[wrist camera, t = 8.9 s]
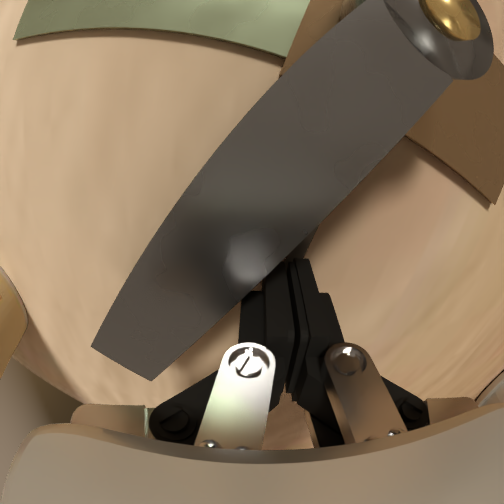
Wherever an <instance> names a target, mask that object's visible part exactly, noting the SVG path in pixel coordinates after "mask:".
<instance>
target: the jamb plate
mask: <svg viewBox="0 0 504 504" xmlns="http://www.w3.org/2000/svg"><path fill="white" fill-rule="evenodd" d="M343 2H344V0H310V2H309V4H308V6H307V9H306V11H305V13H304V16H303V18H302V20H301V23H300V25H299V28H298V30H297V32H296V35H295V37H294V40H293V42H292V45H291V47H290V50H289V52H288V55H287V57H286V59H285V61H284V64H283V66H282V69H281V72H280V74H279V76H282V75H283V74H284V73H285V72H286V71H287V70H288V69H289V68H290V67H291V66H292V65H293V64H294V63H295V62H296V61H297V60H298V59H299V58H300V57H301V56H302V55H303V54H304V53H305V52H306V51H307V50H309V49H310V48H311V47H312V46H313V45H314V44H315V43H316V42H317V41H318V40H319V39H320V38H322V37H323V36H324V35H325V34H326V33H327V32H328V31H329V30H331V29H332V28H333V27H334V26H335V25H336V24H337V23H339V22H340V21H341V20H340V11H341V7H342V4H343ZM404 136H406V137H407V138H409V139H410V140H412V141H414V142H415V143H417V144H418V145H420V146H421V147H423V148H424V149H425V150H427V151H428V152H430V153H431V154H433V155H434V156H435V157H437V158H438V159H439V160H441V161H442V162H443V163H445V164H446V165H447V166H449V167H450V168H451V169H453V170H454V171H455V172H456V173H458V174H459V175H460V176H461V177H463V178H464V179H465V180H466V181H467V182H468V183H470V184H471V185H472V186H473V187H474V188H475V189H477V190H478V191H479V192H480V193H481V194H482V195H483V196H484V197H485V198H486V199H488V200H489V201H490V202H491V203H493V204H494V205H495V204H496V202H497V199H498V197H499V195H500V192H501V190H502V187H503V185H504V65H503V64H502V63H501V62H500V60H499V59H498V58H497V57H496V56H495V55H494V54H493V60H492V63H491V66H490V68H489V70H488V71H487V72H486V73H485V74H484V75H483V76H482V77H480V78H477V79H474V80H453V82H452V83H451V84H450V85H449V86H448V88H447V89H446V90H445V91H444V92H443V93H442V94H441V95H440V97H439V98H438V99H437V100H436V101H435V102H434V103H433V104H432V106H431V107H430V108H429V109H428V110H427V111H426V112H425V113H424V115H423V116H422V117H421V118H420V119H419V120H418V121H417V122H416V123H415V124H414V126H413V127H412V128H411V129H410V130H409V131H408V132H407V133H406V134H405V135H404ZM318 226H319V225H318ZM318 226H317V227H316V228H315V229H314V230H313V231H312V232H311V233H310V234H309V235H308V236H307V237H306V238H305V239H304V240H303V241H301V242H300V243H299V244H298V245H297V246H296V247H295V248H294V249H293V250H292V251H291V252H290V253H289V254H288V255H287V256H286V257H285V259H284V262H285V268H286V273H287V265H288V262H293V259H294V258H303V257H304V255H305V253H306V251H307V249H308V247H309V245H310V243H311V241H312V239H313V236H314V234H315V232H316V230H317V228H318Z"/></svg>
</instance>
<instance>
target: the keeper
mask: <svg viewBox="0 0 504 504" xmlns="http://www.w3.org/2000/svg"><path fill="white" fill-rule="evenodd" d="M309 2H310V0H28V3H27V5H26V7H25V9H24V12H23V14H22V17H21V19H20V22H19V24H18V27H17V30H16V32H15V35H14V38H13V40H20V39H24V38H29V37H34V36H39V35H45V34H51V33H58V32H66V31H77V30H91V29H140V30H154V31H165V32H174V33H182V34H188V35H195V36H201V37H206V38H211V39H216V40H221V41H225V42H230V43H234V44H238V45H242V46H246V47H249V48H253V49H256V50H260V51H263V52H266V53H270V54H273V55H276V56H279V57H282V58H285V59H286V57H287V55H288V52H289V50H290V47H291V45H292V42H293V40H294V37H295V35H296V32H297V30H298V28H299V25H300V23H301V20H302V18H303V16H304V13H305V11H306V9H307V6H308V4H309Z"/></svg>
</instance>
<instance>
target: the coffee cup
mask: <svg viewBox="0 0 504 504" xmlns="http://www.w3.org/2000/svg"><path fill="white" fill-rule="evenodd" d="M27 325H28V317H27V313H26V310H25V307H24V304H23V302H22V300H21V298H20V296H19V294H18V292H17V290H16V288H15V287H14V285H13V283H12V282H11V280H10V279H9V277H8V276H7V275H6V273H5V272H4V271H3V269H2V268H1V267H0V379H1V377H2V375H3V373H4V371H5V368H6V366H7V364H8V362H9V360H10V358H11V356H12V355H13V353H14V351H15V349H16V347H17V345H18V343H19V342H20V340H21V338H22V336H23V334H24V332H25V330H26V328H27Z"/></svg>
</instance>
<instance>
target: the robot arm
mask: <svg viewBox="0 0 504 504" xmlns="http://www.w3.org/2000/svg"><path fill="white" fill-rule="evenodd" d="M284 384H285V387H286V393H291V395H292V401H297V404H298V405H300V406H301V407H302V408H304V414H305V418H306V422H307V425H308V429H309V432H310V436H311V439H312V443H313V446H314V448H311V449H296V450H261V449H262V444H263V438H264V433H265V427H266V422H267V416H268V412H270V411H271V410H272V409H273V408H274V407H276V406H277V405H278V404H279V400H280V396H281V393H282V392H283V388H284ZM0 504H504V371H503V372H502V373H501V374H500V375H499V376H498V377H497V378H496V379H495V380H494V381H493V382H492V383H491V384H490V385H489V386H488V387H487V388H486V389H485V390H484V392H483V393H482V394H481V395H480V396H479V398H478V399H477V400H476V402H475V401H474V400H473V399H471V398H469V397H457V398H428V399H426V400H425V401H422V400H421V399H420V398H418V397H417V396H415V395H413V394H412V393H410V392H408V391H406V390H404V389H403V388H401V387H399V386H397V385H396V384H394V383H392V382H390V381H389V380H387V379H385V378H384V377H382V376H380V374H379V372H378V371H377V369H376V367H375V365H374V363H373V361H372V359H371V357H370V356H369V354H368V353H367V352H366V351H365V350H364V349H363V348H362V347H360V346H358V345H356V344H352V343H345V342H344V338H343V335H342V332H341V329H340V325H339V322H338V319H337V316H336V313H335V310H334V307H333V304H332V301H331V298H330V295H329V294H328V293H319V291H318V288H317V284H316V281H315V278H314V274H313V271H312V268H311V264H310V261H309V259H304V258H294V259H293V262H288V265H287V273H286V268H285V262H284V261H281V262H280V263H279V264H278V265H277V266H276V267H275V268H274V269H273V270H272V271H271V272H270V273H269V274H268V275H267V276H266V277H264V278H263V279H262V291H250V292H249V293H248V294H247V295H246V296H245V297H243V298H242V301H241V314H240V327H239V339H238V344H237V345H235V346H233V347H231V348H230V349H229V350H227V351H226V353H225V355H224V356H223V359H222V362H221V365H220V368H219V370H217V371H215V372H214V373H212V374H211V375H209V376H207V377H206V378H204V379H203V380H201V381H199V382H198V383H196V384H194V385H193V386H191V387H189V388H188V389H186V390H184V391H183V392H181V393H179V394H177V395H176V396H174V397H172V398H170V399H169V400H167V401H165V402H163V403H162V404H160V405H159V406H157V407H156V408H146V407H145V405H142V406H135V405H103V404H84V405H82V406H80V407H78V408H77V409H76V410H75V411H74V412H73V415H72V418H71V424H68V423H61V424H50V425H44V426H41V427H38V428H36V429H34V430H32V431H31V432H30V433H29V434H28V435H27V436H26V437H25V439H24V440H23V442H22V443H21V445H20V447H19V449H18V451H17V452H16V454H15V457H14V459H13V461H12V464H11V466H10V469H9V472H8V475H7V479H6V482H5V485H4V489H3V493H2V497H1V503H0Z"/></svg>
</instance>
